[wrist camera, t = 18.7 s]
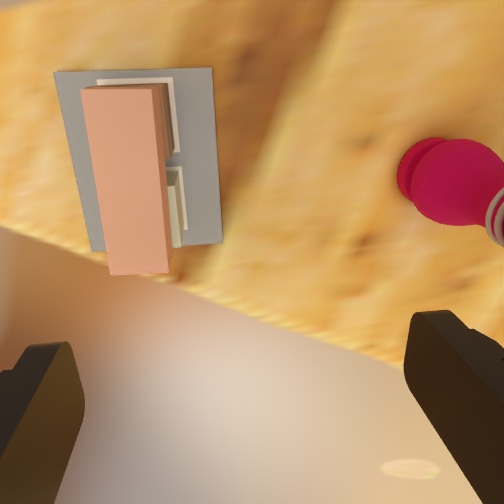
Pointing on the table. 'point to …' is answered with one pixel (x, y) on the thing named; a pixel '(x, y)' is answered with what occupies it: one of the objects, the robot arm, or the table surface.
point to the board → (183, 160)
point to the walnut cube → (165, 113)
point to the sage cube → (175, 208)
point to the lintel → (130, 177)
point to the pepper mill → (455, 183)
